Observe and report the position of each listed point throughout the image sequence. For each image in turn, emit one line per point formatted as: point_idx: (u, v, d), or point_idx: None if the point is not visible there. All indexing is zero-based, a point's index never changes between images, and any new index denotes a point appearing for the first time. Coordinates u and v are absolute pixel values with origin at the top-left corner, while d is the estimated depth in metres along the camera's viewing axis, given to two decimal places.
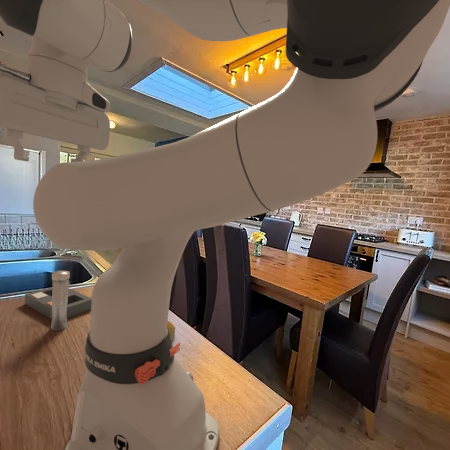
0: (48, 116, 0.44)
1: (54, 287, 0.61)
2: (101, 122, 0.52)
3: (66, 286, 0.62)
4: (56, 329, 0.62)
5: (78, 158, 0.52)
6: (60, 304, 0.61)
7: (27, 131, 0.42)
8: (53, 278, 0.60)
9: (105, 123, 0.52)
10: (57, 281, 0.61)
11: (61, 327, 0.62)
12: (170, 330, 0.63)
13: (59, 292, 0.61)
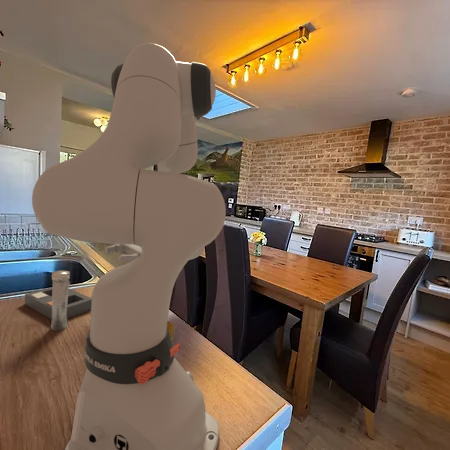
0: None
1: (54, 287, 0.61)
2: None
3: (66, 286, 0.62)
4: (56, 329, 0.62)
5: None
6: (60, 304, 0.61)
7: None
8: (53, 278, 0.60)
9: None
10: (57, 281, 0.61)
11: (61, 327, 0.62)
12: (170, 330, 0.62)
13: (59, 292, 0.61)
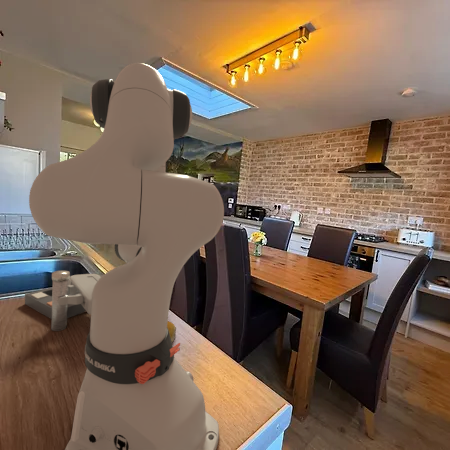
0: (89, 282, 0.69)
1: (54, 287, 0.61)
2: None
3: (66, 286, 0.62)
4: (56, 329, 0.62)
5: None
6: None
7: (73, 281, 0.69)
8: (53, 278, 0.60)
9: None
10: (57, 281, 0.61)
11: (61, 327, 0.62)
12: (171, 330, 0.62)
13: (59, 292, 0.61)
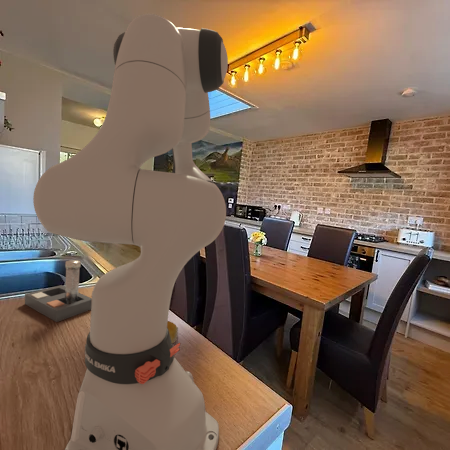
0: None
1: (67, 274, 0.70)
2: None
3: (77, 273, 0.71)
4: None
5: None
6: (72, 288, 0.71)
7: None
8: (66, 266, 0.70)
9: None
10: (70, 269, 0.70)
11: None
12: (173, 331, 0.62)
13: (72, 279, 0.70)
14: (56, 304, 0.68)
